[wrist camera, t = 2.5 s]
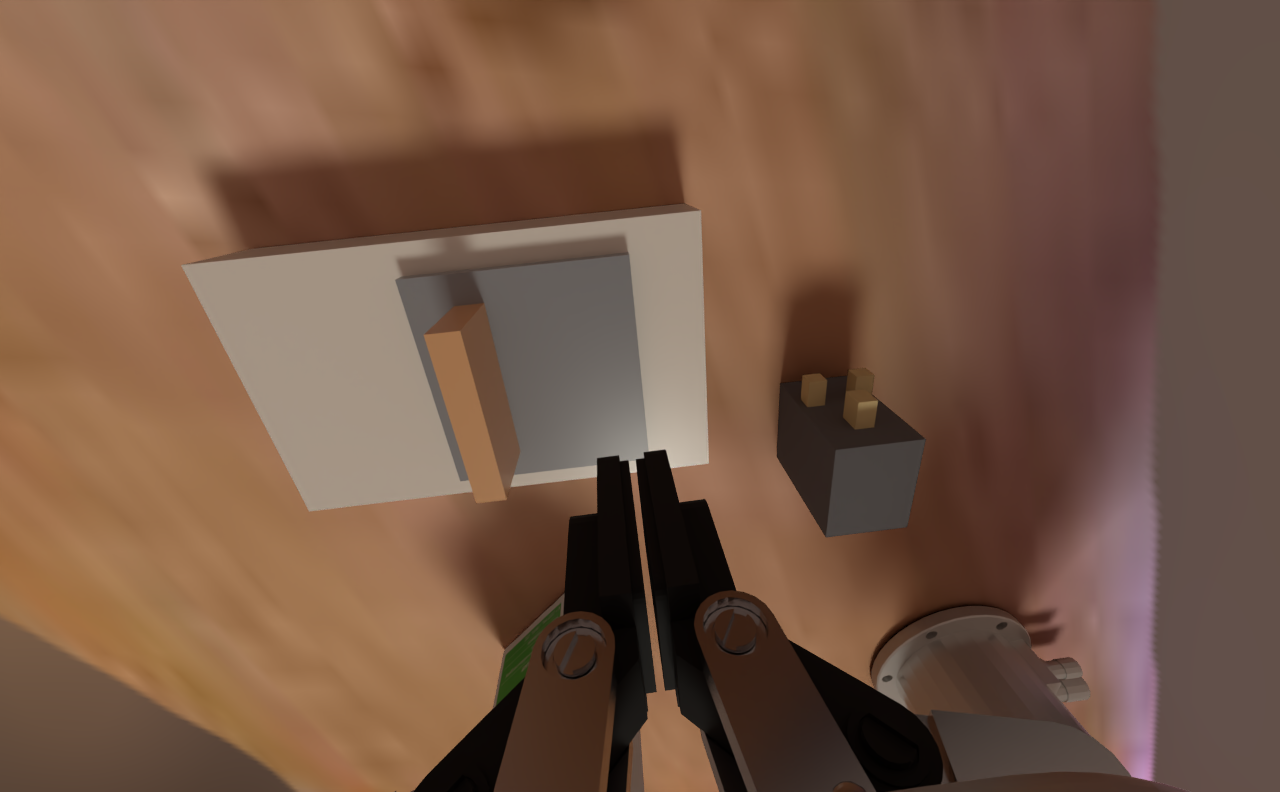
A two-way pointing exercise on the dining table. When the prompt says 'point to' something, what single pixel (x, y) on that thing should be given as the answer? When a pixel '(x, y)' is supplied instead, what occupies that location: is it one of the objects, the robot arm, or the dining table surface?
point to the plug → (847, 453)
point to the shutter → (531, 365)
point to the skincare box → (516, 669)
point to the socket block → (389, 359)
